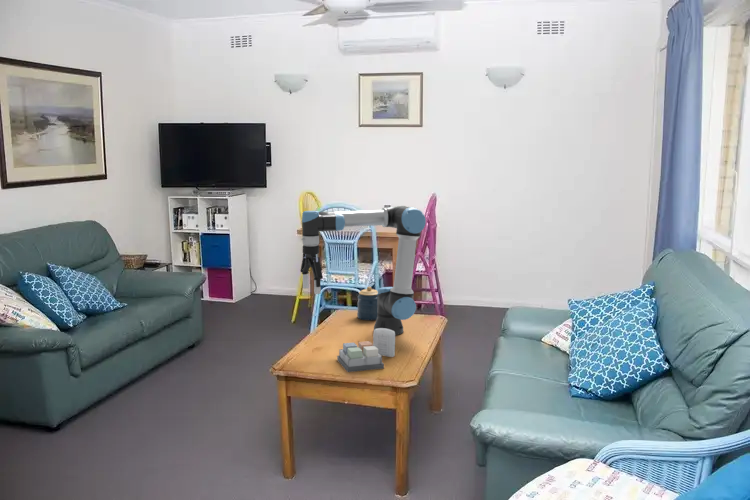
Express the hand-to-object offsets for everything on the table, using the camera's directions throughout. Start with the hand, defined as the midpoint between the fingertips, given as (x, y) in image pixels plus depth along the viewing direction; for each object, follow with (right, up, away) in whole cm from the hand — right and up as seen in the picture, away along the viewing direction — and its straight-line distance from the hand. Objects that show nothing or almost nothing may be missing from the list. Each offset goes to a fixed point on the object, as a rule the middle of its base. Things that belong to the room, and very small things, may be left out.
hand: (311, 290), depth 284 cm
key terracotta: (+25, -25, -14) cm, 38 cm away
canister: (+26, -19, +60) cm, 68 cm away
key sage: (+21, -26, -23) cm, 40 cm away
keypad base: (+23, -30, -18) cm, 42 cm away
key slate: (+18, -25, -16) cm, 35 cm away
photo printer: (+33, -29, -5) cm, 44 cm away
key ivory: (+27, -26, -20) cm, 43 cm away
